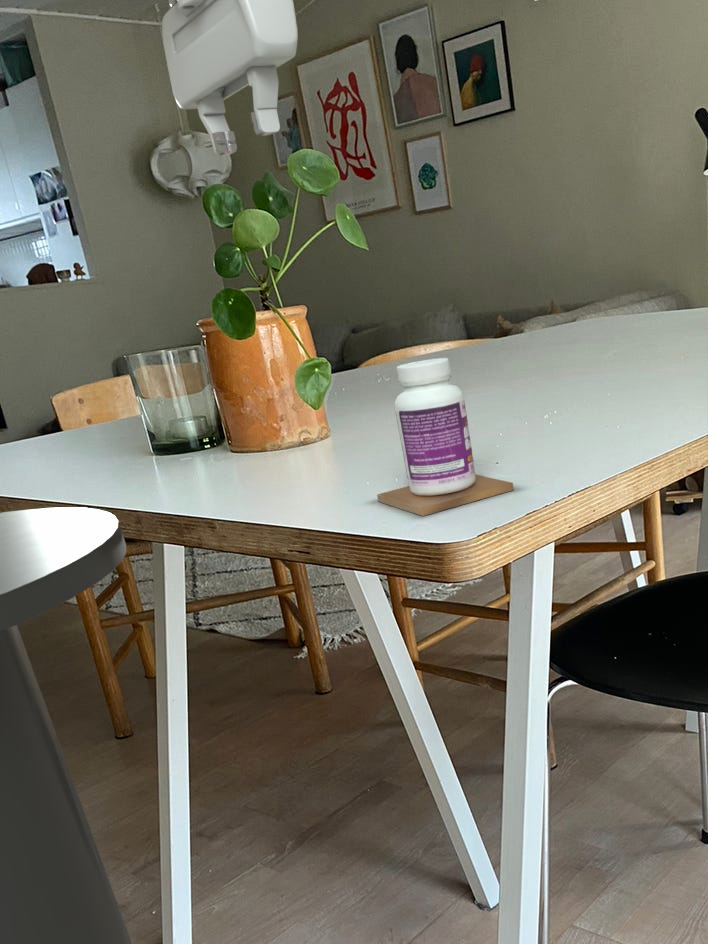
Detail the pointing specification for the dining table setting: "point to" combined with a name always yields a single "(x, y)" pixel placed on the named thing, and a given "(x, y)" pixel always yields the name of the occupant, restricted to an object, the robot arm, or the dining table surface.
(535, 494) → the dining table surface
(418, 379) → the pill bottle
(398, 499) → the coaster
